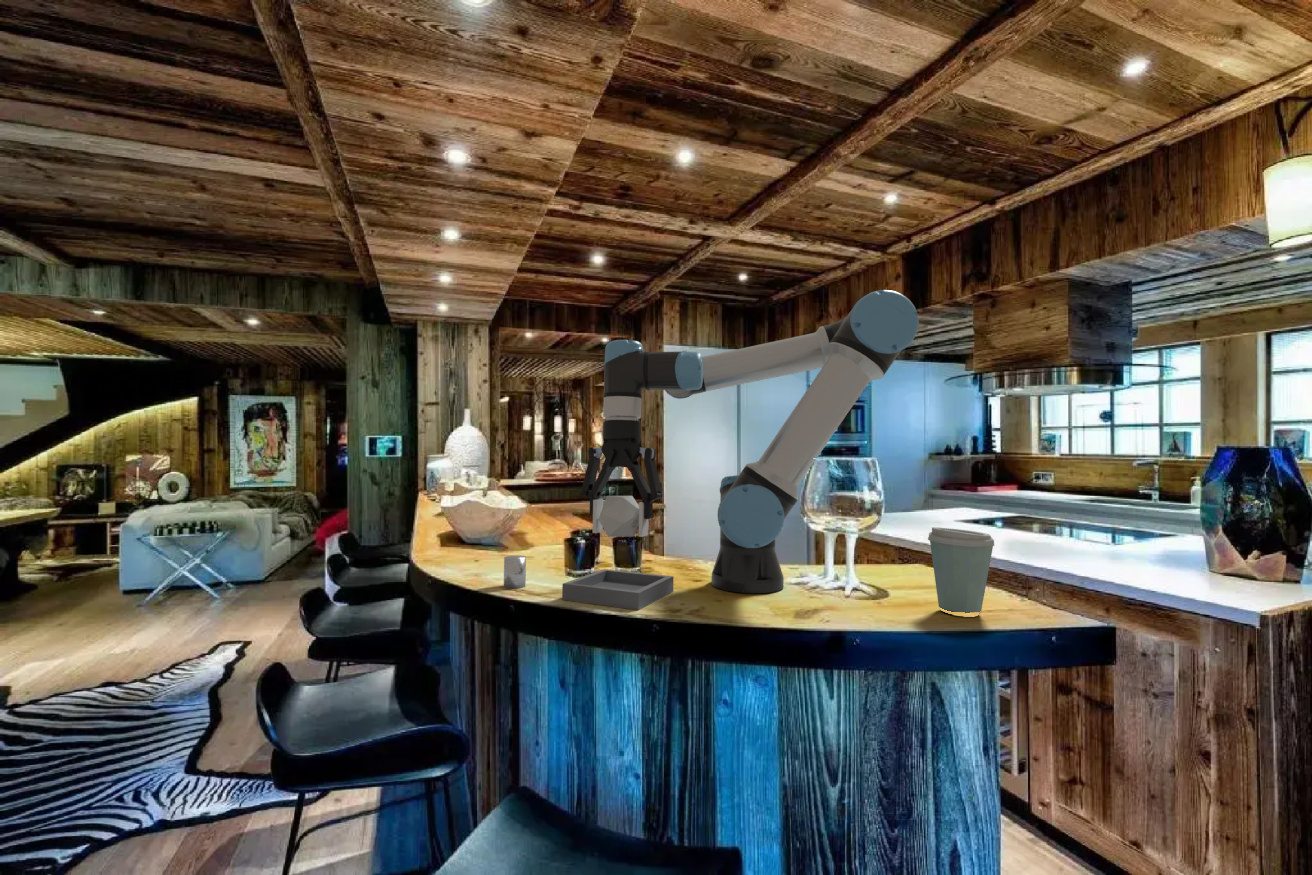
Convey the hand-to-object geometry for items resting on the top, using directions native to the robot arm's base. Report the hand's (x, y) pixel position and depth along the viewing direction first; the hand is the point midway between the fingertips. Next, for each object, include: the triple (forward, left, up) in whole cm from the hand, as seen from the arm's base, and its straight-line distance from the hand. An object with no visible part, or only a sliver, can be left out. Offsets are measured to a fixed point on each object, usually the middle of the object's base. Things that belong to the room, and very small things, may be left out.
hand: (620, 534), depth 113 cm
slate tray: (0, 0, -12) cm, 12 cm away
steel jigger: (+23, +3, -12) cm, 26 cm away
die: (0, 0, 0) cm, 0 cm away
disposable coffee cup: (-60, -16, -12) cm, 63 cm away
